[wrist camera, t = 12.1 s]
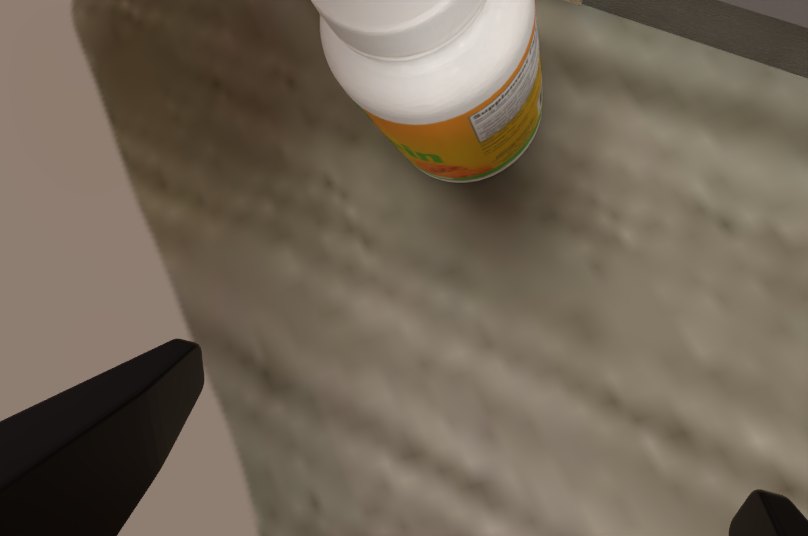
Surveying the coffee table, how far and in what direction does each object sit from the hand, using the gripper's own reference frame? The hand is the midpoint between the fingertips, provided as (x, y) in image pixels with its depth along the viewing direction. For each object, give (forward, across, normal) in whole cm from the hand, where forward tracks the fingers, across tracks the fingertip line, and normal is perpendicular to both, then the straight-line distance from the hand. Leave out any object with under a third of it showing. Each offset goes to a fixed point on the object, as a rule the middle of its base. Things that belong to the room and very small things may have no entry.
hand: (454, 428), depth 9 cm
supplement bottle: (+14, +2, 0) cm, 14 cm away
